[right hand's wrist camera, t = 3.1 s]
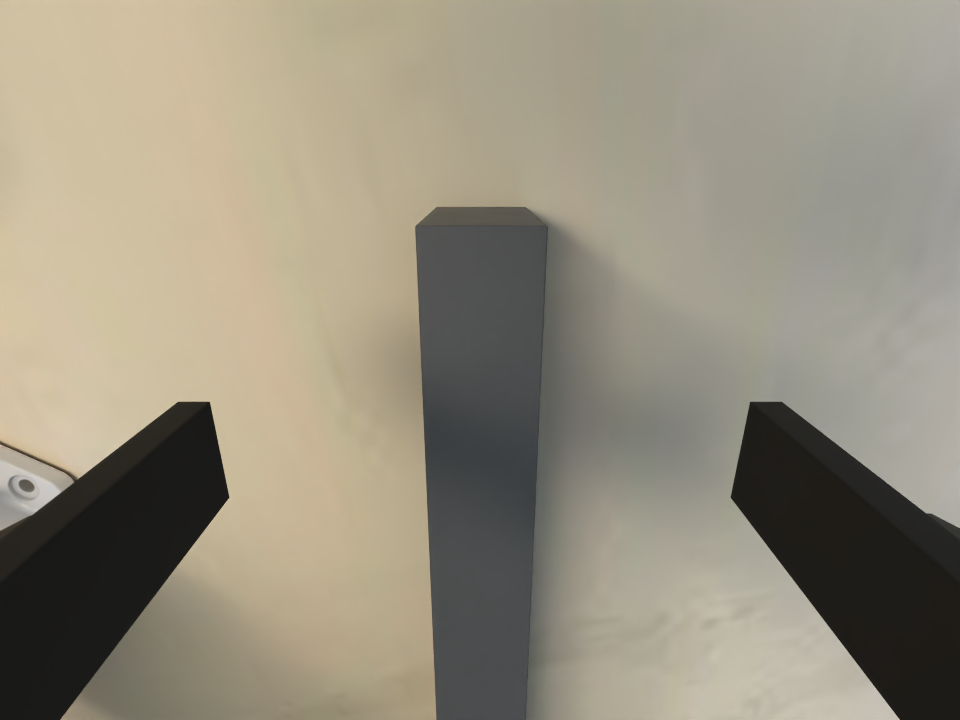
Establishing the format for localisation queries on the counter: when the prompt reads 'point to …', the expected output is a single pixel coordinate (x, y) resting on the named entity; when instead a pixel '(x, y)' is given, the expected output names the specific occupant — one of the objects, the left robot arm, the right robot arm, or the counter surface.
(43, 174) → the counter surface
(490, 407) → the bar
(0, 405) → the counter surface
